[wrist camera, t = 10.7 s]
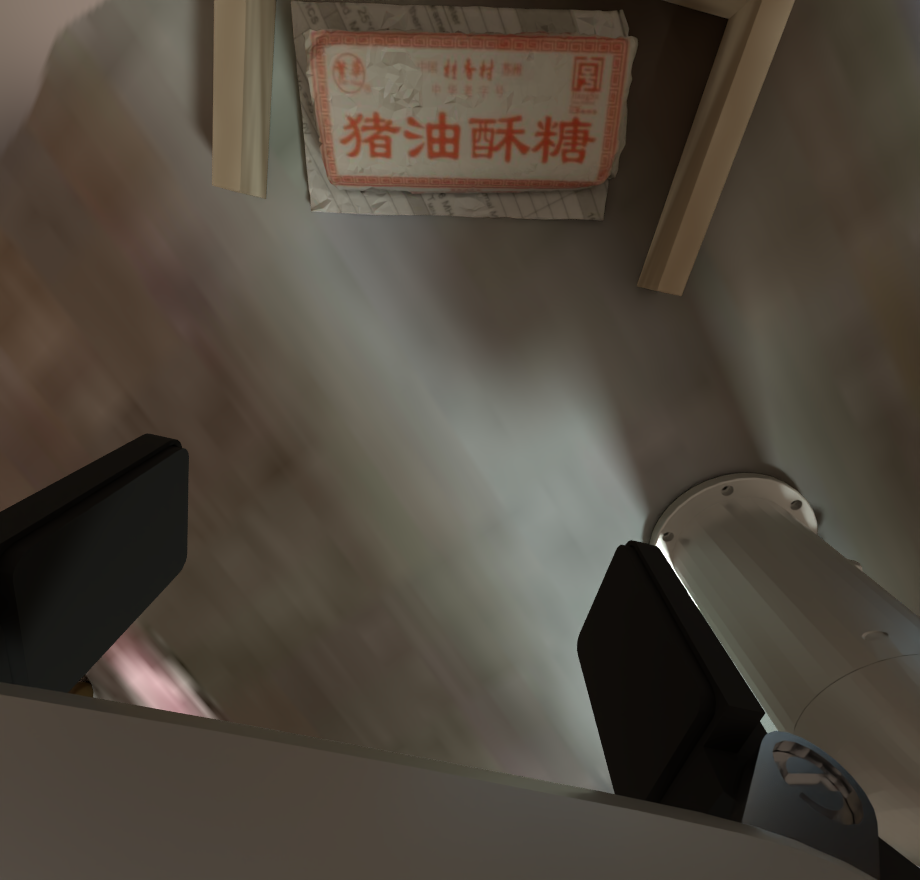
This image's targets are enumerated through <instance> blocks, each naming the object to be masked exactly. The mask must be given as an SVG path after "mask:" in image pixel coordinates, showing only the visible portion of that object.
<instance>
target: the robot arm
mask: <svg viewBox="0 0 920 880" xmlns="http://www.w3.org/2000/svg"><path fill="white" fill-rule="evenodd" d="M188 471H189V455H188V451H187V450H186V449H184V448H182V446H181V443H180V442H179V441H178V440H176V439H171V438H167V437H162V436H158V435H153V434H144V435H142V436H140V437H138V438H137V439H135V440H133V441H131V442H129V443H127V444H125V445H124V446H122V447H120V448H118V449H116V450H114V451H112V452H111V453H109V454H107V455H105V456H103V457H101V458H99V459H98V460H96V461H94V462H92V463H90V464H88V465H86V466H85V467H83V468H81V469H79V470H77V471H75V472H74V473H72V474H70V475H68V476H66V477H64V478H62V479H61V480H59V481H57V482H55V483H53V484H51V485H49V486H48V487H46V488H44V489H42V490H40V491H38V492H36V493H35V494H33V495H31V496H29V497H27V498H25V499H23V500H22V501H20V502H18V503H16V504H14V505H12V506H11V507H9V508H7V509H5V510H3V511H1V512H0V880H920V868H919V867H920V617H918V616H917V615H916V614H915V613H913V612H912V611H911V610H910V609H908V608H907V607H906V606H905V605H903V604H902V603H901V602H900V601H899V600H897V599H896V598H895V597H894V596H892V595H891V594H890V593H889V592H887V591H886V590H885V589H884V588H882V587H881V586H880V585H879V584H877V583H876V582H875V581H874V580H872V579H871V578H870V577H869V576H867V575H866V574H865V573H864V572H863V571H862V566H861V565H860V563H859V562H856V561H854V560H849V559H846V558H845V557H844V556H843V555H841V554H840V553H839V552H838V551H836V550H835V549H834V548H833V547H831V546H830V545H829V544H828V543H827V542H825V541H824V540H823V539H822V538H820V537H819V536H818V530H817V520H816V517H815V514H814V511H813V509H812V507H811V506H810V504H809V502H808V501H807V500H806V499H805V498H804V497H803V496H802V495H801V494H800V493H799V492H798V491H797V490H795V489H794V488H792V487H791V486H789V485H788V484H787V483H785V482H783V481H781V480H778V479H776V478H774V477H772V476H767V475H762V474H757V473H737V474H729V475H723V476H720V477H717V478H713V479H710V480H707V481H705V482H703V483H701V484H699V485H697V486H695V487H693V488H691V489H690V490H688V491H687V492H685V493H684V494H682V495H681V496H679V497H678V498H677V499H676V500H675V501H674V502H673V503H672V504H671V505H670V506H669V507H668V508H667V509H666V511H665V512H664V513H663V514H662V516H661V517H660V518H659V520H658V522H657V524H656V526H655V528H654V530H653V532H652V536H651V540H650V543H649V544H646V543H642V542H637V541H632V540H631V541H628V542H627V543H626V545H620V546H619V547H618V548H617V550H616V551H615V554H614V556H613V558H612V561H611V563H610V565H609V568H608V570H607V572H606V574H605V577H604V579H603V581H602V584H601V586H600V588H599V591H598V593H597V595H596V597H595V600H594V602H593V604H592V607H591V609H590V611H589V613H588V616H587V618H586V620H585V623H584V625H583V627H582V630H581V632H580V634H579V637H578V642H577V652H578V657H579V660H580V664H581V668H582V672H583V676H584V679H585V683H586V687H587V691H588V694H589V698H590V702H591V706H592V710H593V713H594V717H595V721H596V725H597V728H598V732H599V736H600V740H601V744H602V747H603V751H604V755H605V759H606V762H607V766H608V770H609V774H610V778H611V781H612V785H613V789H614V793H615V794H611V793H606V792H601V791H596V790H591V789H585V788H580V787H575V786H570V785H564V784H559V783H554V782H549V781H544V780H538V779H533V778H528V777H523V776H517V775H512V774H507V773H502V772H496V771H491V770H486V769H481V768H475V767H470V766H465V765H460V764H455V763H449V762H444V761H439V760H433V759H428V758H423V757H417V756H412V755H406V754H401V753H396V752H390V751H385V750H379V749H374V748H369V747H363V746H358V745H353V744H347V743H342V742H336V741H331V740H325V739H320V738H315V737H309V736H304V735H298V734H293V733H287V732H282V731H276V730H271V729H266V728H260V727H255V726H249V725H244V724H238V723H233V722H227V721H221V720H216V719H210V718H205V717H199V716H193V715H188V714H182V713H177V712H171V711H165V710H160V709H154V708H149V707H143V706H137V705H132V704H126V703H121V702H115V701H109V700H104V699H98V698H93V697H87V696H81V695H76V694H70V693H68V692H69V691H70V690H71V689H72V688H73V687H74V686H75V685H76V683H77V682H78V681H79V680H80V679H81V678H82V677H83V676H84V675H85V674H86V673H87V672H88V671H89V669H90V668H91V667H92V666H93V665H94V664H95V663H96V662H97V661H98V660H99V659H100V658H101V657H102V655H103V654H104V653H105V652H106V651H107V650H108V649H109V648H110V647H111V646H112V645H113V644H114V643H115V641H116V640H117V639H118V638H119V637H120V636H121V635H122V634H123V633H124V632H125V631H126V630H127V629H128V628H129V626H130V625H131V624H132V623H133V622H134V621H135V620H136V619H137V618H138V617H139V616H140V615H141V614H142V612H143V611H144V610H145V609H146V608H147V607H148V606H149V605H150V604H151V603H152V602H153V601H154V600H155V598H156V597H157V596H158V595H159V594H160V593H161V592H162V591H163V590H164V589H165V588H166V587H167V586H168V584H169V583H170V582H171V581H172V580H173V579H174V578H175V577H176V576H177V575H178V574H179V572H180V571H181V570H182V568H183V566H184V564H185V562H186V558H187V529H188ZM701 613H702V614H701ZM703 616H704V617H703ZM705 619H706V620H705ZM707 622H708V623H707ZM709 625H710V626H709ZM710 627H711V628H712V629H711V628H710ZM712 630H713V631H712ZM714 633H715V634H714ZM716 636H717V637H716ZM718 639H719V640H718ZM719 641H720V642H721V643H720V642H719ZM721 644H722V645H723V646H722V645H721ZM723 647H724V648H725V649H724V648H723ZM725 650H726V651H727V652H726V651H725ZM727 653H728V654H727ZM728 655H729V656H730V657H729V656H728ZM730 658H731V659H732V660H731V659H730ZM732 661H733V662H734V663H733V662H732ZM734 664H735V665H736V666H735V665H734ZM736 667H737V668H738V670H739V671H740V673H741V674H740V673H739V671H738V670H737V668H736ZM741 675H742V676H743V677H742V676H741ZM743 678H744V679H745V680H744V679H743ZM745 681H746V682H747V684H748V685H749V687H750V688H751V690H752V691H753V693H754V694H753V693H752V691H751V690H750V688H749V687H748V685H747V684H746V682H745ZM754 695H755V696H756V698H757V699H758V701H759V702H760V704H761V705H762V707H763V708H764V710H765V711H766V713H767V714H768V716H769V718H770V719H771V721H772V722H773V724H774V725H775V727H776V728H777V730H778V731H774V732H771V733H767V732H766V730H765V729H764V727H763V726H762V724H761V722H760V720H761V719H762V717H763V716H764V714H765V712H764V710H763V709H762V707H761V705H760V704H759V702H758V701H757V699H756V698H755V696H754ZM917 866H919V867H917Z"/></svg>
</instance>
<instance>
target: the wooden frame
mask: <svg viewBox="0 0 920 880" xmlns="http://www.w3.org/2000/svg"><path fill="white" fill-rule="evenodd" d="M663 1H666V2H670V3H673V4H677V5H681V6H684V7H688V8H691V9H695V10H698V11H702V12H705V13H709V14H713V15H716V16H720V17H723V18H727V19H729V20H728V23H727V26H726V28H725V31H724V34H723V37H722V40H721V43H720V46H719V49H718V52H717V54H716V57H715V60H714V63H713V66H712V69H711V72H710V75H709V78H708V81H707V83H706V86H705V89H704V92H703V95H702V98H701V101H700V104H699V107H698V110H697V112H696V115H695V118H694V121H693V124H692V127H691V130H690V133H689V136H688V138H687V141H686V144H685V147H684V150H683V153H682V156H681V159H680V162H679V165H678V167H677V170H676V173H675V176H674V179H673V182H672V185H671V188H670V191H669V193H668V196H667V199H666V202H665V205H664V208H663V211H662V214H661V217H660V220H659V222H658V225H657V228H656V231H655V234H654V237H653V240H652V243H651V246H650V249H649V251H648V254H647V257H646V260H645V263H644V266H643V269H642V272H641V275H640V277H639V280H638V283H637V287H641V288H646V289H650V290H654V291H658V292H663V293H668V294H673V295H678V296H682V293H683V291H684V288H685V285H686V283H687V280H688V278H689V275H690V272H691V270H692V267H693V265H694V262H695V259H696V257H697V254H698V252H699V249H700V246H701V244H702V241H703V239H704V236H705V233H706V231H707V228H708V225H709V223H710V220H711V218H712V215H713V212H714V210H715V207H716V205H717V202H718V199H719V197H720V194H721V192H722V189H723V186H724V184H725V181H726V179H727V176H728V173H729V171H730V168H731V166H732V163H733V160H734V158H735V155H736V153H737V150H738V147H739V145H740V142H741V139H742V137H743V134H744V132H745V129H746V126H747V124H748V121H749V119H750V116H751V113H752V111H753V108H754V106H755V103H756V100H757V98H758V95H759V93H760V90H761V87H762V85H763V82H764V80H765V77H766V74H767V72H768V69H769V66H770V64H771V61H772V59H773V56H774V53H775V51H776V48H777V46H778V43H779V40H780V38H781V35H782V33H783V30H784V27H785V25H786V22H787V20H788V17H789V14H790V12H791V9H792V7H793V4H794V1H795V0H663ZM275 12H276V0H214V68H213V157H212V185H213V186H217V187H220V188H224V189H228V190H232V191H235V192H239V193H243V194H247V195H252V196H256V197H260V198H264V199H266V189H267V169H268V150H269V130H270V110H271V91H272V71H273V51H274V32H275Z"/></svg>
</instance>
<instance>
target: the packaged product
mask: <svg viewBox="0 0 920 880" xmlns="http://www.w3.org/2000/svg"><path fill="white" fill-rule="evenodd" d="M291 11H292V23H293V36H294V44H295V51H296V64H297V75H298V84H299V93H300V102H301V111H302V120H303V132H304V141H305V154H306V165H307V174H308V184H309V191H310V199H311V211H315V212H334V213H350V214H366V215H448V216H460V217H475V218H484V217H489V218H497V217H511V218H518V219H545V220H550V219H585V220H598V221H603V219H604V210H605V204H606V198H607V191H608V183H609V179H612V178H615V177H616V174H617V172H618V168H619V157H620V154H621V152H622V150H623V148H624V146H625V144H626V127H627V111H628V108H627V97H628V94H629V89H630V85H631V82H632V75H631V70H632V64H633V60H634V58H635V55H636V51H637V47H638V39H637V38H635V37H633V36H628V32H629V27H628V24H627V21H626V18H625V15H624V12H623V10H615V11H605V12H603V11H600V10H595V11H587V10H555V9H523V8H492V7H484V6H470V7H458V6H424V5H392V4H376V3H347V2H335V3H334V2H303V1H291Z"/></svg>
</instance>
